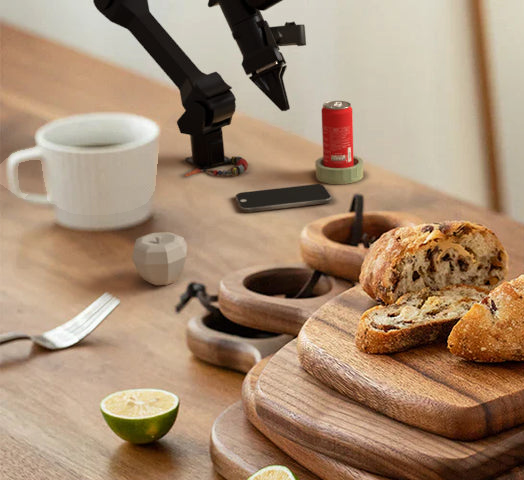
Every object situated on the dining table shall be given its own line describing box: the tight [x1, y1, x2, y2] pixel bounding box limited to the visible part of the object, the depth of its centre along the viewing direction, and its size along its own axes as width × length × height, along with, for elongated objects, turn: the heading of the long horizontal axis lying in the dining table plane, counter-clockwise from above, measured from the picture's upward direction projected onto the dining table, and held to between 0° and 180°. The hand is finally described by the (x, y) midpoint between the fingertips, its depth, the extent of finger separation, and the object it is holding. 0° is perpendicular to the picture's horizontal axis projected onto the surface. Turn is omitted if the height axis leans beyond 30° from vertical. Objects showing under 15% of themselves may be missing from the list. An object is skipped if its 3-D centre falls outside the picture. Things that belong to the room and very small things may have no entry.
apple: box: [131, 231, 188, 286], centre depth 148 cm, size 8×8×7 cm
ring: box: [314, 155, 364, 185], centre depth 186 cm, size 8×8×3 cm
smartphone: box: [235, 183, 333, 213], centre depth 176 cm, size 8×1×15 cm
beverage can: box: [321, 100, 354, 168], centre depth 183 cm, size 5×5×12 cm
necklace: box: [184, 156, 249, 178], centre depth 190 cm, size 8×11×2 cm
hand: (286, 110), depth 180 cm, fingers open, 9 cm apart
